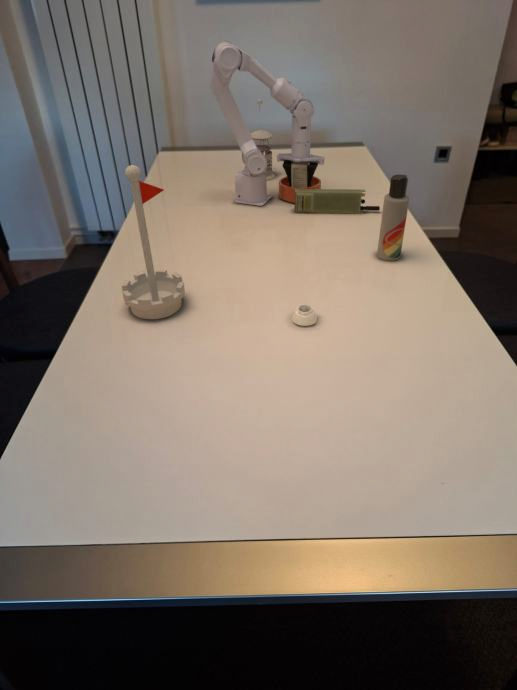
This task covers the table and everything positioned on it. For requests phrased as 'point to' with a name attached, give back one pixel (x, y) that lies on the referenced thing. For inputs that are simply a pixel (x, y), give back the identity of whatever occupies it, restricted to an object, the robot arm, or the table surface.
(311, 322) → the white jar
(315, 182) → the bowl
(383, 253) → the lotion bottle
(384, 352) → the table surface
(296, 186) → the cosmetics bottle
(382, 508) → the table surface
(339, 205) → the handheld radio
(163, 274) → the flag stand
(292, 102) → the robot arm
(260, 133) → the weather station
